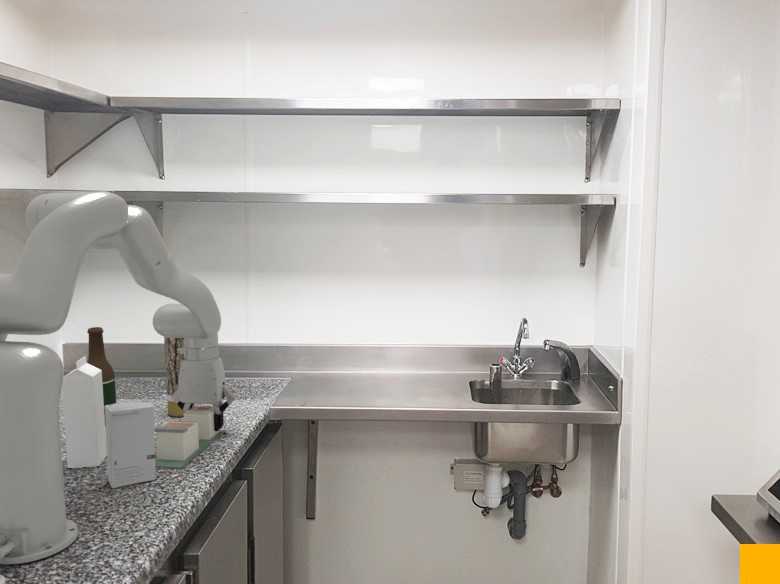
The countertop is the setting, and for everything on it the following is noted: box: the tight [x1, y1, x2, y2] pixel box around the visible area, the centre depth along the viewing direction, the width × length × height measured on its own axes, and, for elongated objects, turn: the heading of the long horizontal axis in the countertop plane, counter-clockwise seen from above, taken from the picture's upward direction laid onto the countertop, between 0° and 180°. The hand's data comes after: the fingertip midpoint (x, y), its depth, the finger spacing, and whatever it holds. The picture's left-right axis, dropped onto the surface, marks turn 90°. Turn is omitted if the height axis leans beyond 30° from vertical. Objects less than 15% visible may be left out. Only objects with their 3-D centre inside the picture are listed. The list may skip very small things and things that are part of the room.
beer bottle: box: [86, 326, 117, 425], centre depth 155 cm, size 8×8×24 cm
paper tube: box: [163, 336, 196, 418], centre depth 161 cm, size 7×7×25 cm
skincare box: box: [105, 400, 157, 489], centre depth 120 cm, size 8×6×15 cm
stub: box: [183, 405, 221, 440], centre depth 145 cm, size 6×6×6 cm
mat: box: [155, 429, 226, 470], centre depth 138 cm, size 23×8×1 cm, turn 172°
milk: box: [61, 355, 107, 469], centre depth 128 cm, size 6×6×22 cm
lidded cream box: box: [155, 420, 199, 461], centre depth 133 cm, size 7×7×7 cm
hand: (204, 428), depth 146 cm, fingers closed on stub, 6 cm apart
